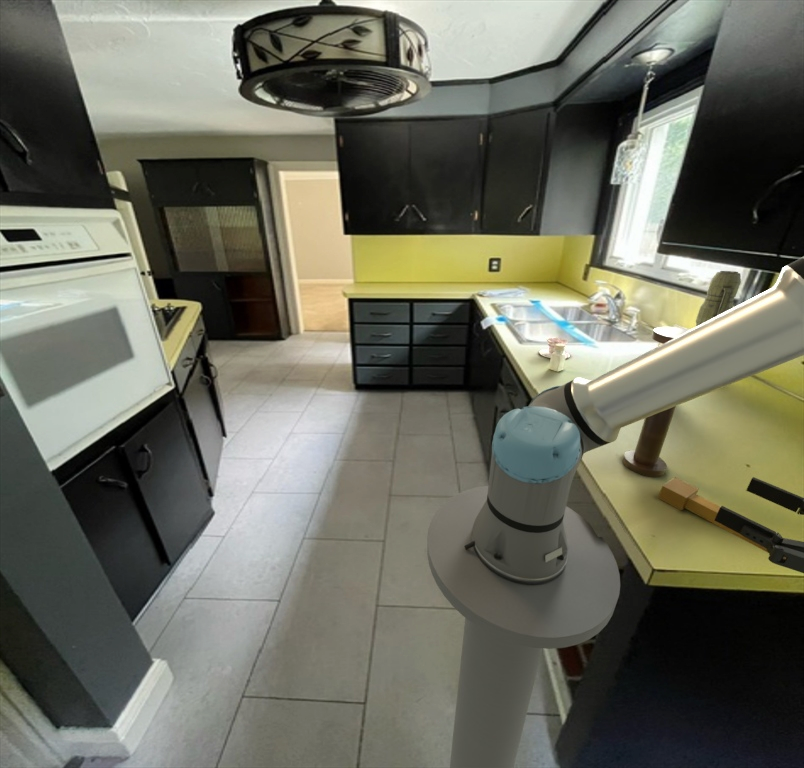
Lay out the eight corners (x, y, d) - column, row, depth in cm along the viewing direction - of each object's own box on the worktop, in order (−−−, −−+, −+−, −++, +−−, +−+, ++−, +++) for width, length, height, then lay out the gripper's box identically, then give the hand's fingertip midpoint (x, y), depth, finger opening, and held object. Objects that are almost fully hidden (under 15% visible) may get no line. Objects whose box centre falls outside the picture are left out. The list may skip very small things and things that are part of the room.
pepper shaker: (553, 366, 137) (558, 342, 133) (563, 369, 134) (568, 345, 130) (548, 369, 134) (552, 344, 131) (557, 372, 132) (562, 347, 128)
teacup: (576, 358, 146) (579, 343, 143) (550, 360, 143) (553, 345, 141) (557, 349, 156) (559, 335, 154) (533, 351, 154) (535, 337, 151)
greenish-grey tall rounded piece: (702, 366, 137) (736, 270, 123) (716, 377, 127) (754, 274, 113) (675, 363, 140) (705, 269, 126) (686, 374, 130) (720, 273, 116)
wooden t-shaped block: (786, 568, 56) (795, 554, 55) (658, 498, 70) (662, 485, 69) (797, 554, 58) (805, 540, 57) (670, 489, 73) (675, 477, 72)
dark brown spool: (634, 480, 75) (677, 341, 63) (608, 452, 85) (642, 326, 73) (681, 480, 75) (734, 341, 63) (651, 452, 85) (692, 326, 73)
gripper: (915, 674, 41) (694, 545, 57) (940, 571, 53) (753, 489, 69) (955, 631, 38) (711, 508, 54) (972, 532, 50) (769, 456, 66)
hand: (734, 497), depth 62 cm, fingers open, 13 cm apart
